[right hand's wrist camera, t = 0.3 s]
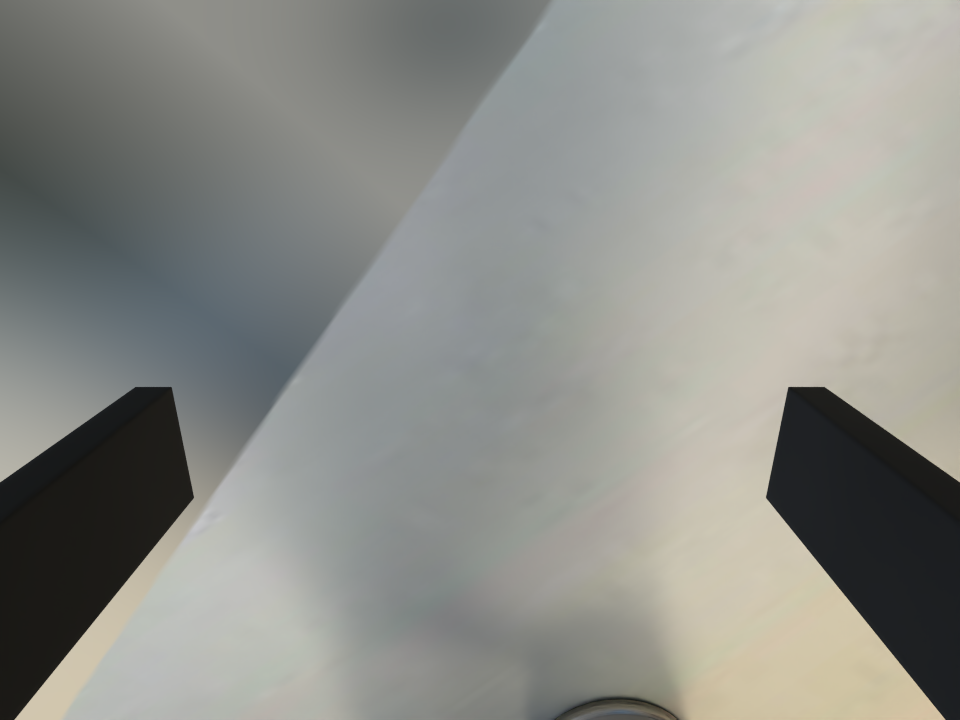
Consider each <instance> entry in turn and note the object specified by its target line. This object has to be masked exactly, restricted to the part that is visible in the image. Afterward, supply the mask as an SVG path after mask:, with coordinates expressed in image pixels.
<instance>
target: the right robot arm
mask: <svg viewBox="0 0 960 720" xmlns="http://www.w3.org/2000/svg"><path fill="white" fill-rule="evenodd" d="M193 498H194V496H193V491H192V486H191V481H190V476H189V471H188V466H187V461H186V456H185V451H184V446H183V441H182V436H181V431H180V427H179V421H178V417H177V412H176V407H175V402H174V397H173V392H172V388H171V387H135V388H134V389H132V390H131V391H129V392H128V393H126V394H125V395H124V396H122V397H121V398H119V399H118V400H117V401H115V402H114V403H112V404H111V405H109V406H108V407H107V408H105V409H104V410H102V411H101V412H100V413H98V414H97V415H95V416H94V417H92V418H91V419H90V420H88V421H87V422H85V423H84V424H83V425H81V426H80V427H78V428H77V429H75V430H74V431H73V432H71V433H70V434H68V435H67V436H65V437H64V438H63V439H61V440H60V441H58V442H57V443H56V444H54V445H53V446H51V447H50V448H48V449H47V450H46V451H44V452H43V453H41V454H40V455H39V456H37V457H36V458H34V459H33V460H31V461H30V462H29V463H27V464H26V465H24V466H23V467H22V468H20V469H19V470H17V471H16V472H14V473H13V474H12V475H10V476H9V477H7V478H6V479H4V480H3V481H2V482H0V720H14V719H15V718H16V717H17V716H18V715H19V713H20V712H21V711H22V710H23V708H24V707H25V706H26V705H27V703H28V702H29V701H30V700H31V698H32V697H33V696H34V695H35V694H36V692H37V691H38V690H39V688H40V687H41V686H42V685H43V684H44V682H45V681H46V680H47V679H48V677H49V676H50V675H51V674H52V673H53V671H54V670H55V669H56V668H57V666H58V665H59V664H60V663H61V661H62V660H63V659H64V658H65V656H66V655H67V654H68V653H69V651H70V650H71V649H72V648H73V647H74V645H75V644H76V643H77V642H78V640H79V639H80V638H81V637H82V635H83V634H84V633H85V632H86V631H87V629H88V628H89V627H90V626H91V624H92V623H93V622H94V621H95V619H96V618H97V617H98V616H99V614H100V613H101V612H102V611H103V610H104V608H105V607H106V606H107V605H108V603H109V602H110V601H111V600H112V598H113V597H114V596H115V595H116V593H117V592H118V591H119V590H120V589H121V587H122V586H123V585H124V584H125V582H126V581H127V580H128V579H129V577H130V576H131V575H132V574H133V572H134V571H135V570H136V569H137V567H138V566H139V565H140V564H141V563H142V561H143V560H144V559H145V558H146V556H147V555H148V554H149V553H150V551H151V550H152V549H153V548H154V546H155V545H156V544H157V543H158V542H159V540H160V539H161V538H162V537H163V535H164V534H165V533H166V532H167V530H168V529H169V528H170V527H171V525H172V524H173V523H174V522H175V521H176V519H177V518H178V517H179V516H180V514H181V513H182V512H183V511H184V509H185V508H186V507H187V506H188V504H189V503H190V502H191V501H192V500H193ZM766 498H767V500H768V501H769V502H770V503H771V504H772V506H773V507H774V508H775V509H776V511H777V512H778V513H779V514H780V516H781V517H782V518H783V519H784V521H785V522H786V523H787V524H788V525H789V527H790V528H791V529H792V530H793V532H794V533H795V534H796V535H797V537H798V538H799V539H800V540H801V542H802V543H803V544H804V545H805V546H806V548H807V549H808V550H809V551H810V553H811V554H812V555H813V556H814V558H815V559H816V560H817V561H818V563H819V564H820V565H821V566H822V567H823V569H824V570H825V571H826V572H827V574H828V575H829V576H830V577H831V579H832V580H833V581H834V582H835V584H836V585H837V586H838V587H839V589H840V590H841V591H842V592H843V593H844V595H845V596H846V597H847V598H848V600H849V601H850V602H851V603H852V605H853V606H854V607H855V608H856V610H857V611H858V612H859V613H860V614H861V616H862V617H863V618H864V619H865V621H866V622H867V623H868V624H869V626H870V627H871V628H872V629H873V631H874V632H875V633H876V634H877V635H878V637H879V638H880V639H881V640H882V642H883V643H884V644H885V645H886V647H887V648H888V649H889V650H890V652H891V653H892V654H893V655H894V656H895V658H896V659H897V660H898V661H899V663H900V664H901V665H902V666H903V668H904V669H905V670H906V671H907V673H908V674H909V675H910V676H911V677H912V679H913V680H914V681H915V682H916V684H917V685H918V686H919V687H920V689H921V690H922V691H923V692H924V694H925V695H926V696H927V697H928V698H929V700H930V701H931V702H932V703H933V705H934V706H935V707H936V708H937V710H938V711H939V712H940V713H941V715H942V716H943V717H944V718H945V719H946V720H960V482H958V481H957V480H956V479H954V478H953V477H951V476H950V475H948V474H947V473H946V472H944V471H943V470H941V469H940V468H938V467H937V466H936V465H934V464H933V463H931V462H930V461H929V460H927V459H926V458H924V457H923V456H921V455H920V454H919V453H917V452H916V451H914V450H913V449H912V448H910V447H909V446H907V445H906V444H904V443H903V442H902V441H900V440H899V439H897V438H896V437H895V436H893V435H892V434H890V433H889V432H887V431H886V430H885V429H883V428H882V427H880V426H879V425H877V424H876V423H875V422H873V421H872V420H870V419H869V418H868V417H866V416H865V415H863V414H862V413H860V412H859V411H858V410H856V409H855V408H853V407H852V406H851V405H849V404H848V403H846V402H845V401H843V400H842V399H841V398H839V397H838V396H836V395H835V394H834V393H832V392H831V391H829V390H828V389H826V388H825V387H788V392H787V397H786V402H785V407H784V412H783V417H782V421H781V426H780V431H779V436H778V441H777V446H776V451H775V456H774V461H773V466H772V471H771V476H770V481H769V486H768V491H767V495H766ZM555 720H677V719H676V718H675V717H674V716H673V715H671V714H670V713H668V712H667V711H665V710H663V709H661V708H659V707H657V706H654V705H651V704H648V703H644V702H640V701H634V700H622V699H616V700H603V701H597V702H592V703H588V704H585V705H582V706H579V707H577V708H574V709H572V710H570V711H568V712H566V713H564V714H563V715H561V716H559V717H558V718H557V719H555Z"/></svg>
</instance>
